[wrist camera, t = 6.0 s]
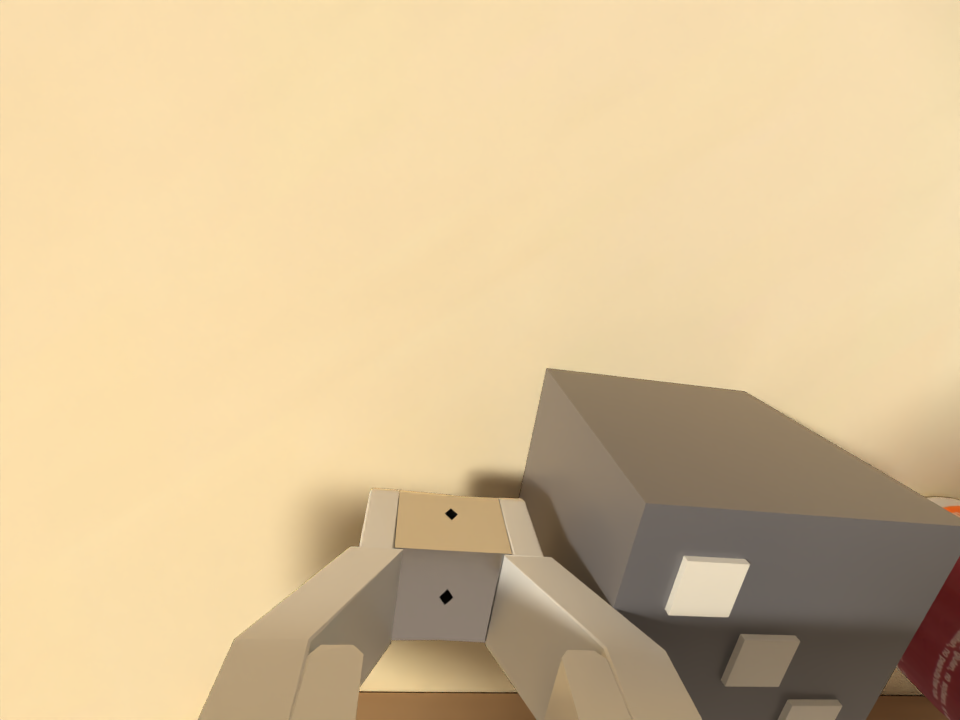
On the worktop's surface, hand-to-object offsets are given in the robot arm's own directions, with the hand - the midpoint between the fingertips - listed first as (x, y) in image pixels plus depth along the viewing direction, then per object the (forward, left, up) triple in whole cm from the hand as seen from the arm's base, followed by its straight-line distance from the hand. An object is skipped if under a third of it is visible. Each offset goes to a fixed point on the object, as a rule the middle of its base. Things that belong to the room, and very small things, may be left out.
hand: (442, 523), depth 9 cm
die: (0, +5, -2) cm, 5 cm away
